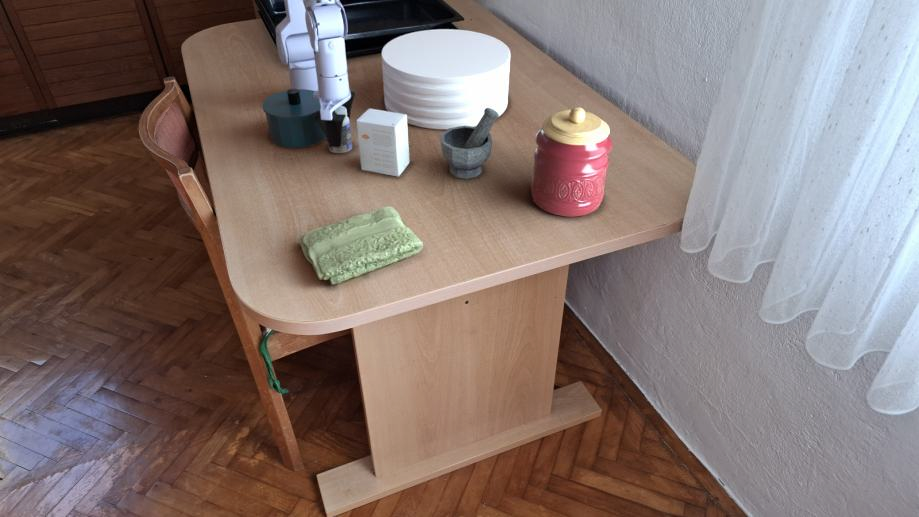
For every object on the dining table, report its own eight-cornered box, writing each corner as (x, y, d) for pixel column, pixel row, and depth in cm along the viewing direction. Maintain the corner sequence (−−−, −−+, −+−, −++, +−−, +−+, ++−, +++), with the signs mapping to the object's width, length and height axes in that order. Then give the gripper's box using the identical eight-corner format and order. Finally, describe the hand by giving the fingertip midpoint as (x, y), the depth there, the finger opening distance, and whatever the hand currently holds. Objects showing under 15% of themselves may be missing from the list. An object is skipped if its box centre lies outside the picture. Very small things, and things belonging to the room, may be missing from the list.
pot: (284, 118, 142) (279, 90, 138) (336, 124, 140) (333, 95, 136) (260, 144, 133) (255, 114, 129) (315, 150, 131) (311, 121, 127)
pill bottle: (354, 152, 131) (350, 113, 126) (330, 155, 130) (325, 116, 125) (350, 141, 134) (346, 103, 129) (327, 143, 133) (322, 105, 128)
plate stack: (482, 70, 164) (484, 23, 156) (526, 119, 143) (530, 68, 136) (372, 83, 156) (369, 36, 149) (402, 137, 136) (399, 85, 129)
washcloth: (294, 244, 107) (292, 228, 105) (393, 215, 114) (392, 200, 112) (322, 291, 98) (320, 275, 96) (427, 256, 105) (427, 240, 103)
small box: (410, 163, 128) (408, 113, 121) (398, 177, 124) (396, 127, 117) (372, 156, 130) (368, 107, 123) (360, 170, 126) (355, 120, 119)
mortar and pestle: (450, 187, 121) (451, 128, 114) (433, 163, 128) (432, 106, 120) (505, 175, 125) (509, 117, 117) (485, 152, 131) (488, 96, 124)
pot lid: (279, 91, 139) (276, 75, 137) (336, 97, 137) (334, 81, 135) (252, 118, 129) (248, 101, 127) (313, 125, 127) (311, 108, 125)
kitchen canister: (584, 227, 112) (599, 134, 101) (517, 204, 117) (524, 113, 106) (613, 192, 120) (629, 103, 109) (549, 172, 126) (559, 85, 115)
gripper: (320, 55, 128) (328, 119, 136) (300, 86, 117) (310, 153, 125) (356, 57, 128) (361, 120, 136) (339, 88, 116) (346, 155, 125)
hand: (339, 136), depth 131 cm, fingers open, 7 cm apart
